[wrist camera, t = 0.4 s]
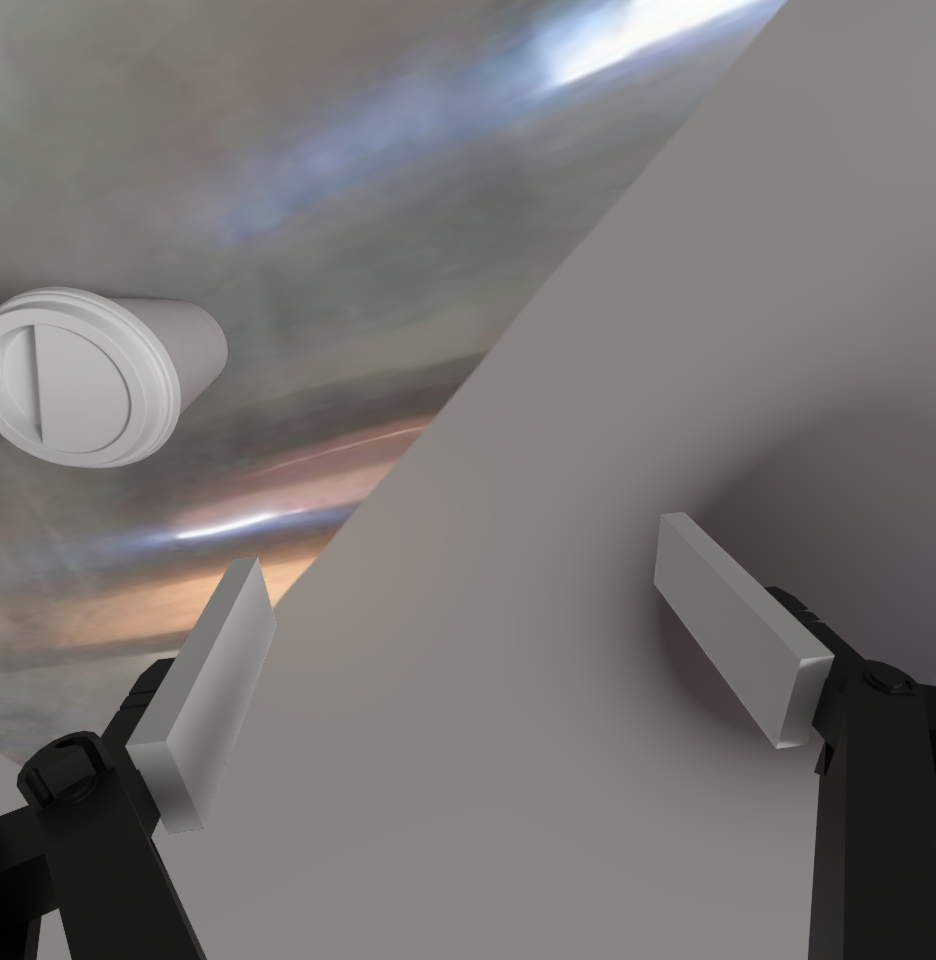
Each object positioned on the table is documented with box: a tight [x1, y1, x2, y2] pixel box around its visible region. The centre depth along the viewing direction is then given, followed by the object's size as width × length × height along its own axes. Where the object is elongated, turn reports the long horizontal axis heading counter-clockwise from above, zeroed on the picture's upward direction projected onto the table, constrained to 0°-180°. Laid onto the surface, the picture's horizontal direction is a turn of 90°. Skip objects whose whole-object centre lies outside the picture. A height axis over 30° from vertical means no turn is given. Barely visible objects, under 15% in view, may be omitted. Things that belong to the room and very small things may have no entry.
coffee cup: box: [0, 287, 228, 468], centre depth 32 cm, size 10×10×15 cm
